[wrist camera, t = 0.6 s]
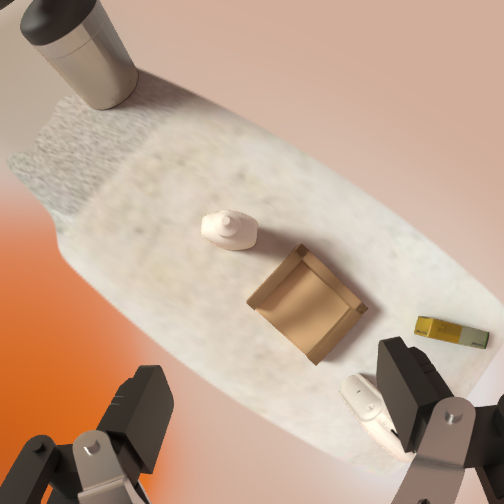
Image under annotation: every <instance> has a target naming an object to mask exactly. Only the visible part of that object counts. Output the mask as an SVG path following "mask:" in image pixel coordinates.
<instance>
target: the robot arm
mask: <svg viewBox="0 0 504 504" xmlns="http://www.w3.org/2000/svg"><path fill="white" fill-rule="evenodd" d="M13 1H14V0H0V10H1V9H3V8H4V7H6V6H7V5H9V4H10V3H12V2H13ZM20 29H21V32H22V34H23V35H24V37H25V38H26V39H27V40H28V41H29V42H30V43H31V44H32V45H33V47H34V48H35V49H36V50H37V51H38V52H39V53H40V54H41V55H42V56H43V57H44V58H45V59H46V61H47V62H49V63H50V65H51V66H52V67H53V68H54V69H55V70H56V71H57V72H58V73H59V74H60V76H61V77H62V78H63V79H64V80H65V81H66V82H67V83H68V84H69V85H70V86H71V87H72V88H73V89H74V91H76V93H77V94H78V95H79V96H80V97H81V98H82V99H83V100H84V101H85V102H86V103H87V104H88V105H89V106H90V107H91V108H93V109H97V110H104V109H109V108H112V107H114V106H116V105H118V104H120V103H121V102H123V101H124V100H125V99H126V98H127V97H128V96H129V95H130V94H131V93H132V91H133V90H134V88H135V86H136V84H137V80H138V72H137V69H136V67H135V65H134V64H133V62H132V60H131V58H130V56H129V54H128V52H127V51H126V49H125V47H124V45H123V43H122V41H121V39H120V37H119V36H118V34H117V32H116V30H115V28H114V26H113V24H112V23H111V21H110V19H109V17H108V15H107V13H106V11H105V10H104V8H103V6H102V4H101V2H100V1H99V0H33V2H32V3H31V4H30V5H29V7H28V8H27V10H26V11H25V13H24V15H23V17H22V20H21V24H20ZM376 376H377V384H378V388H379V391H380V393H381V395H382V398H383V400H384V402H385V405H386V407H387V410H388V412H389V414H390V417H391V419H392V422H393V424H394V427H395V429H396V432H397V434H398V437H399V439H400V442H401V444H402V447H403V450H404V452H405V453H408V452H412V451H416V456H415V458H414V459H413V461H412V463H411V465H410V467H409V469H408V471H407V474H406V476H405V478H404V480H403V482H402V484H401V486H400V488H399V490H398V492H397V494H396V495H395V497H394V499H393V501H392V503H391V504H454V503H455V500H456V497H457V494H458V492H459V489H460V486H461V482H462V479H463V476H464V472H465V469H466V468H474V467H475V470H476V472H477V475H478V477H479V479H480V482H481V484H482V487H483V489H484V492H485V495H486V497H487V500H488V502H489V504H504V394H503V395H502V396H501V397H500V399H499V402H498V404H497V405H492V406H484V407H474V406H473V405H472V404H471V403H470V402H469V401H468V400H466V399H464V398H460V397H454V395H453V394H452V392H451V391H450V389H449V388H448V386H447V385H446V383H445V382H444V380H443V379H442V377H441V376H440V374H439V373H438V371H436V368H435V367H434V365H433V364H431V361H430V360H429V358H428V357H427V355H426V354H425V353H424V352H422V351H421V350H419V349H417V348H416V347H410V348H408V347H407V346H406V344H405V343H404V341H403V340H402V338H401V337H399V336H398V337H394V338H389V339H384V340H380V341H379V345H378V360H377V373H376ZM173 407H174V400H173V395H172V393H171V391H170V388H169V385H168V383H167V380H166V377H165V375H164V372H163V370H162V368H161V366H159V365H145V366H144V365H141V366H139V368H138V369H137V371H136V373H135V375H134V377H133V378H129V379H128V380H126V381H125V382H124V383H123V384H122V385H121V386H120V387H119V389H118V391H117V392H116V394H115V397H114V398H113V400H112V401H111V405H109V407H108V408H107V410H106V412H105V414H104V416H103V417H102V419H101V421H100V423H99V425H98V427H97V429H96V430H92V431H87V432H85V433H83V434H81V435H80V436H79V437H78V438H77V439H76V440H75V442H74V444H67V445H56V444H55V443H54V441H53V440H52V439H51V438H50V437H49V436H47V435H38V436H35V437H33V438H31V439H30V440H29V441H27V442H26V444H25V446H24V447H23V449H22V450H21V452H20V454H19V455H18V457H17V459H16V461H15V462H14V464H13V466H12V467H11V469H10V471H9V473H8V474H7V476H6V478H5V480H4V482H3V484H2V485H1V487H0V504H41V499H42V497H43V494H44V492H45V490H46V488H47V486H48V484H49V485H50V486H51V487H52V488H53V490H52V492H51V495H50V497H49V499H48V501H47V504H152V503H151V501H150V499H149V498H148V496H147V494H146V492H145V490H144V488H143V486H142V484H141V482H140V481H139V480H138V479H139V476H140V473H146V474H152V473H153V470H154V467H155V464H156V460H157V457H158V454H159V451H160V448H161V445H162V442H163V439H164V436H165V433H166V430H167V427H168V424H169V421H170V418H171V415H172V412H173Z"/></svg>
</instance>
